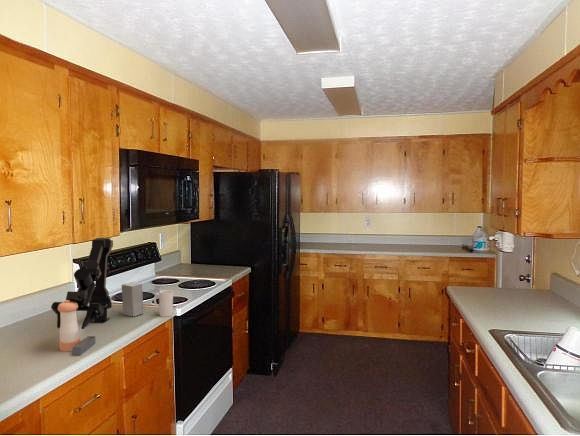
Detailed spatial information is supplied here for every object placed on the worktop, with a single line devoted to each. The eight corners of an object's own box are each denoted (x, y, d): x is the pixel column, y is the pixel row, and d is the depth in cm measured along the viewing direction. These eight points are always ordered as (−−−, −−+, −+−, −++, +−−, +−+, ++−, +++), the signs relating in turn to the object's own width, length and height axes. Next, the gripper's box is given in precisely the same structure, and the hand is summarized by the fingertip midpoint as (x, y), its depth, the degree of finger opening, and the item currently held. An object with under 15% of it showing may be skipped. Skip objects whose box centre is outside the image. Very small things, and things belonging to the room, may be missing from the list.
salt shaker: (61, 353, 154) (58, 304, 151) (58, 346, 159) (55, 299, 157) (82, 348, 158) (79, 300, 156) (78, 341, 164) (76, 296, 161)
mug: (175, 313, 207) (175, 290, 207) (168, 317, 201) (169, 293, 200) (157, 312, 210) (157, 289, 209) (150, 315, 203) (150, 292, 202)
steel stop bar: (87, 343, 164) (88, 336, 164) (95, 343, 164) (95, 336, 164) (72, 355, 152) (72, 347, 152) (80, 355, 152) (80, 347, 152)
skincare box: (143, 314, 205) (144, 283, 204) (131, 317, 199) (132, 285, 198) (132, 311, 209) (133, 281, 208) (120, 314, 203) (121, 283, 202)
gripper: (53, 281, 160) (36, 317, 150) (101, 283, 161) (87, 319, 150) (64, 296, 169) (48, 331, 158) (109, 297, 169) (97, 332, 159)
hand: (70, 328), depth 156 cm, fingers open, 9 cm apart
